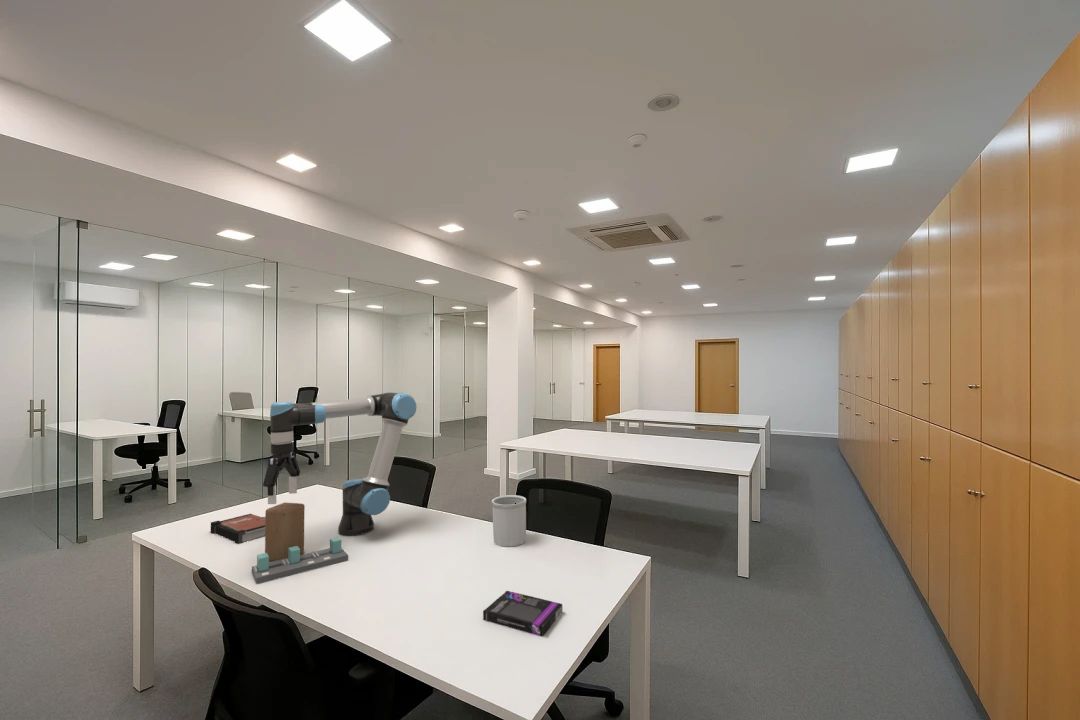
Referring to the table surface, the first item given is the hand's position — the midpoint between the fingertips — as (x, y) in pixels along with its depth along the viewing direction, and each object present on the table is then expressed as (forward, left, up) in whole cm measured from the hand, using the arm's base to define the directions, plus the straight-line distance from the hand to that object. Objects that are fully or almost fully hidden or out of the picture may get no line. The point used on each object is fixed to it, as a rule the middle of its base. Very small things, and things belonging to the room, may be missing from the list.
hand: (282, 498), depth 171 cm
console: (-5, +8, -24) cm, 26 cm away
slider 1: (+7, +7, -22) cm, 24 cm away
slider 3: (-17, +7, -22) cm, 29 cm away
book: (+6, -48, -25) cm, 55 cm away
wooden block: (-2, -5, -24) cm, 25 cm away
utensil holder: (-79, +38, -24) cm, 91 cm away
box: (-47, +89, -25) cm, 104 cm away
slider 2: (-3, +7, -22) cm, 23 cm away
